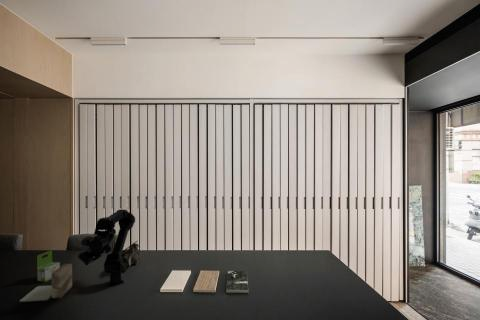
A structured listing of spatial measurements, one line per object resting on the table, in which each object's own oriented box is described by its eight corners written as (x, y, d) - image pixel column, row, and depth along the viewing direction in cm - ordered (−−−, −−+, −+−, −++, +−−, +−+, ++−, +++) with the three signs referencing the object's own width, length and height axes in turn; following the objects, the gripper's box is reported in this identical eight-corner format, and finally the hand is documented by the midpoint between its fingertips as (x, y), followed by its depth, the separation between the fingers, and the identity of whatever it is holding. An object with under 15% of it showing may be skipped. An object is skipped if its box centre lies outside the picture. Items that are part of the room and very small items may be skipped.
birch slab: (72, 286, 152) (71, 263, 152) (61, 298, 141) (60, 273, 140) (64, 287, 152) (63, 264, 152) (52, 298, 140) (51, 273, 140)
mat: (62, 285, 153) (62, 284, 153) (47, 300, 138) (46, 298, 138) (37, 287, 152) (37, 286, 152) (19, 302, 137) (19, 300, 137)
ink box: (45, 282, 158) (44, 256, 158) (36, 281, 159) (35, 256, 159) (60, 274, 168) (59, 250, 168) (52, 273, 169) (51, 249, 169)
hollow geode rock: (119, 282, 167) (136, 264, 166) (102, 267, 167) (120, 248, 166) (138, 262, 195) (153, 246, 194) (123, 249, 195) (138, 233, 194)
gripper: (102, 226, 157) (86, 248, 159) (79, 236, 139) (60, 261, 141) (118, 240, 156) (101, 261, 158) (96, 251, 138) (77, 276, 140)
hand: (86, 264), depth 149 cm, fingers closed
